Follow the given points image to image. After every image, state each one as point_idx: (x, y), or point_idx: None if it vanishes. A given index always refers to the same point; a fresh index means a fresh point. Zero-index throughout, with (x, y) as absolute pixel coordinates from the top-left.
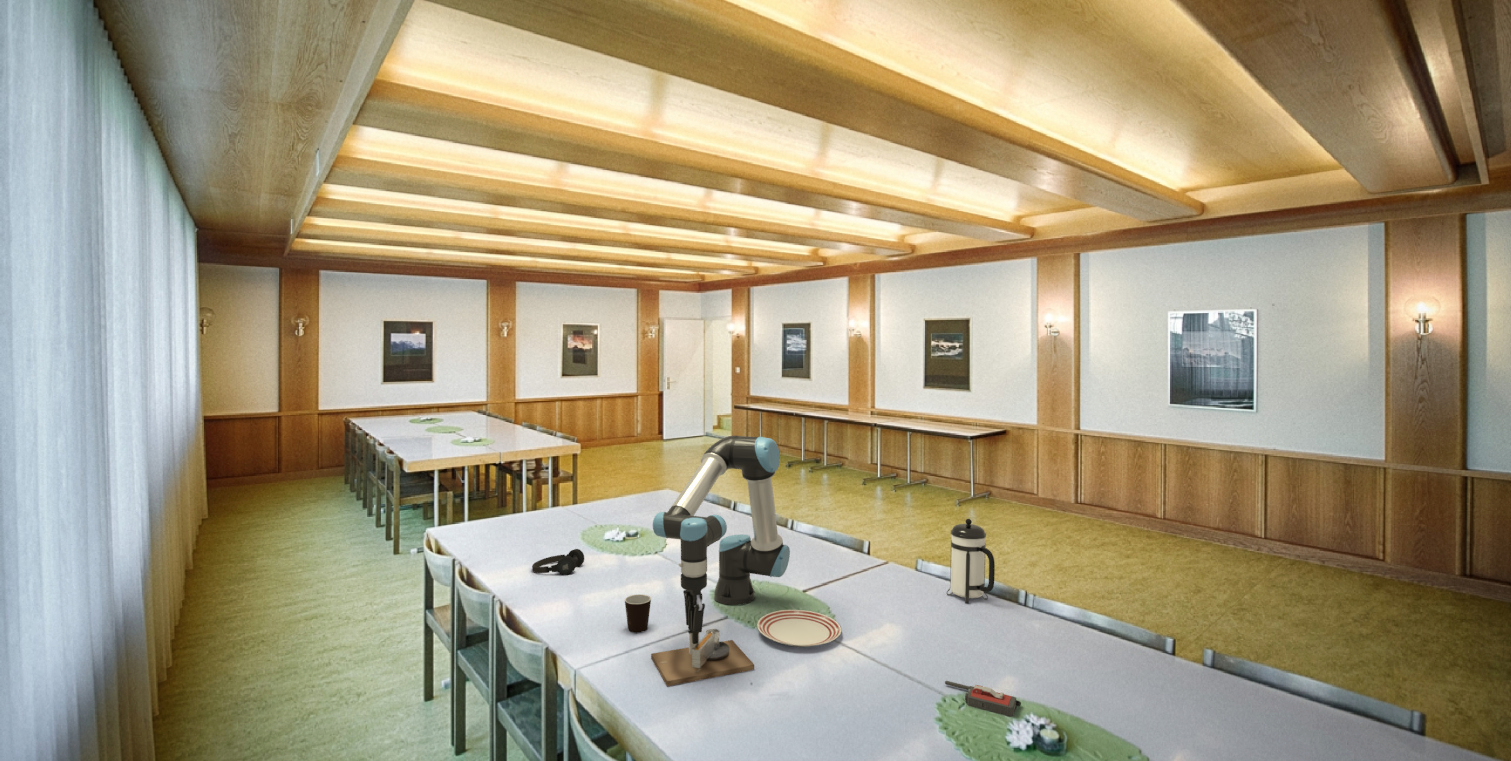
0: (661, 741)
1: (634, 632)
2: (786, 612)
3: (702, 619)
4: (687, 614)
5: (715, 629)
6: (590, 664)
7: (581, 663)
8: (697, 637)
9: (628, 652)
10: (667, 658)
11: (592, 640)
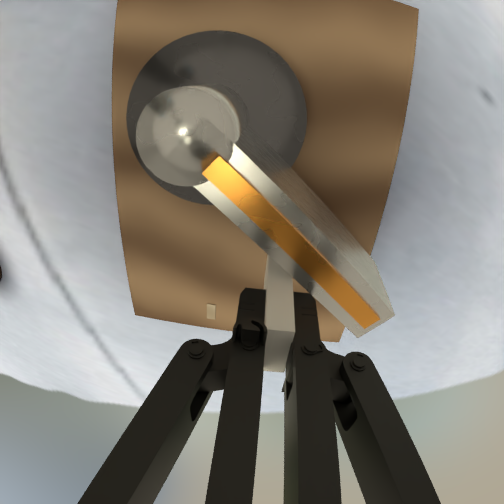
0: (484, 376)
1: (1, 276)
2: None
3: (414, 451)
4: (186, 438)
5: (155, 105)
6: (141, 394)
7: (134, 400)
8: (317, 325)
9: (94, 329)
10: (184, 291)
11: (40, 351)
